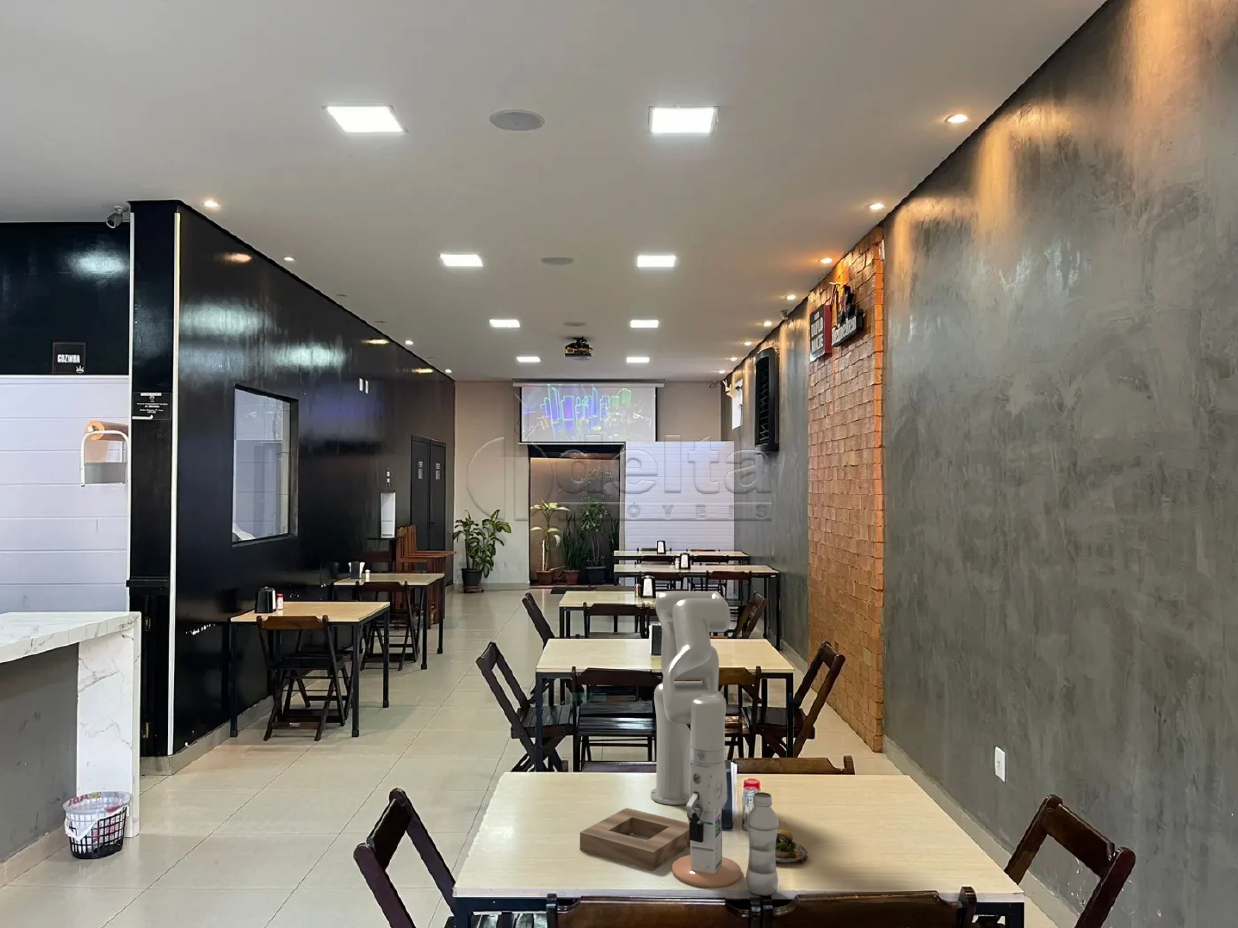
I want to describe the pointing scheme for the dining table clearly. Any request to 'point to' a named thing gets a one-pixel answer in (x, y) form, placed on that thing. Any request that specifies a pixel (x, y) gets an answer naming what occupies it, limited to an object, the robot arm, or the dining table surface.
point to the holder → (618, 845)
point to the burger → (788, 848)
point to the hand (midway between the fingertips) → (706, 833)
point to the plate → (706, 874)
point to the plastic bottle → (762, 846)
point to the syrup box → (708, 844)
